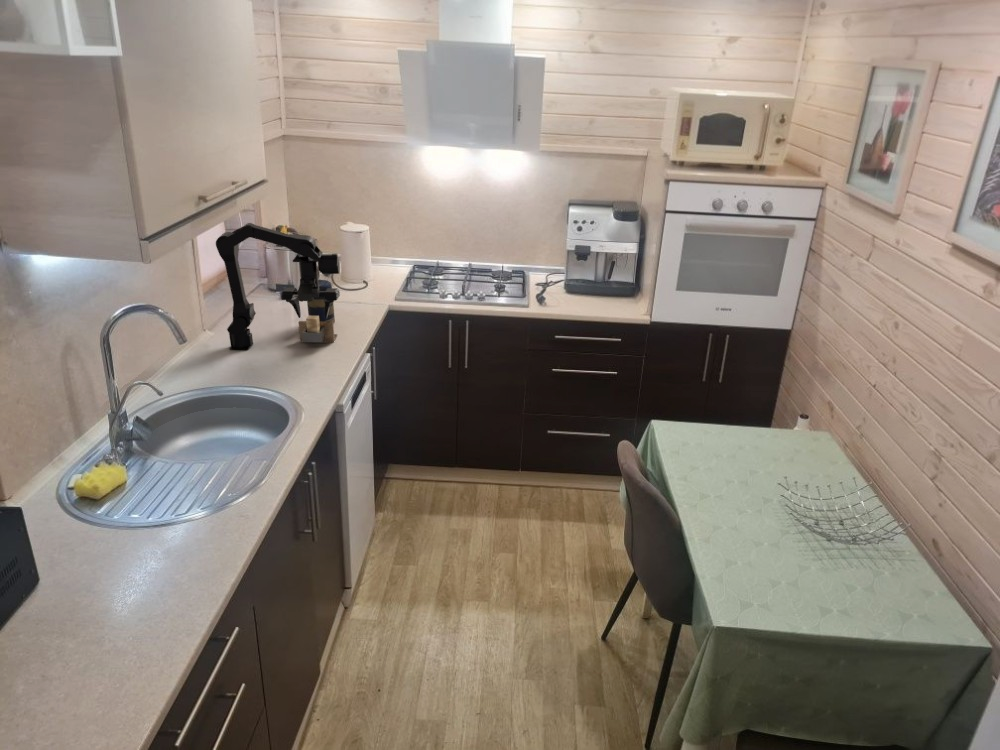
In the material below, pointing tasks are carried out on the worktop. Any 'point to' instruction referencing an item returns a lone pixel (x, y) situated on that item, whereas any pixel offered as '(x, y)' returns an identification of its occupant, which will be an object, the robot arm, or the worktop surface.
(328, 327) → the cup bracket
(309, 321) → the rail end
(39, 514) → the worktop surface
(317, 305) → the canister
